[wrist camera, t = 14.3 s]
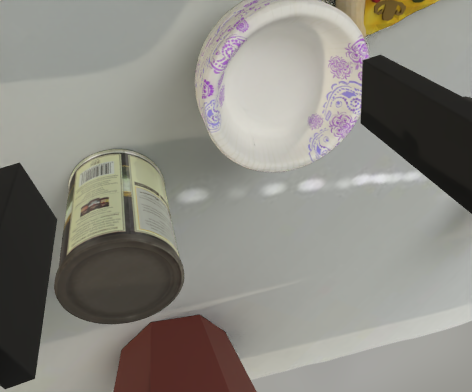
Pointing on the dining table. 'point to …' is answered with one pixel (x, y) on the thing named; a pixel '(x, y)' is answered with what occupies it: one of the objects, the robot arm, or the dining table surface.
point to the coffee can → (117, 241)
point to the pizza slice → (379, 12)
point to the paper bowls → (280, 82)
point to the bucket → (181, 359)
